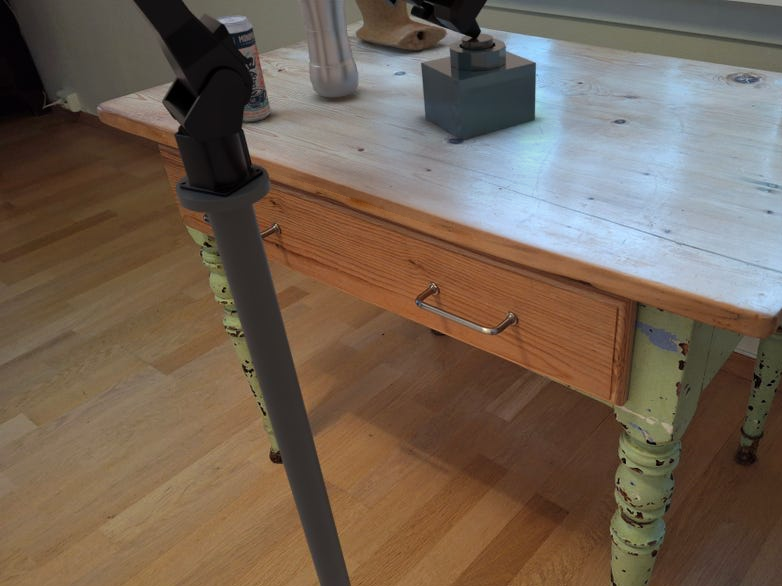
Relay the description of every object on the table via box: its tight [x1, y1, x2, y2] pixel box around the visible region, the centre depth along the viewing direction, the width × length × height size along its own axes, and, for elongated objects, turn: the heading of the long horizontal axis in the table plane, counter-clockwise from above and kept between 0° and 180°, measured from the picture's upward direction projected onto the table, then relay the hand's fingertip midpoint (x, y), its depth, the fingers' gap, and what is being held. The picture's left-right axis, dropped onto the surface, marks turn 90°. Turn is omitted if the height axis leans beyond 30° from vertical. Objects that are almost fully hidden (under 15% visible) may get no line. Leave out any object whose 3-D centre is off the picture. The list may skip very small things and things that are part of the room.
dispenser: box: [420, 38, 537, 141], centre depth 87 cm, size 11×9×9 cm
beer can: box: [215, 14, 272, 123], centre depth 89 cm, size 5×5×12 cm
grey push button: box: [460, 33, 494, 51], centre depth 84 cm, size 4×4×2 cm
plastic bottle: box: [297, 0, 359, 98], centre depth 93 cm, size 6×7×20 cm
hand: (477, 34), depth 83 cm, fingers closed, pressing on grey push button
